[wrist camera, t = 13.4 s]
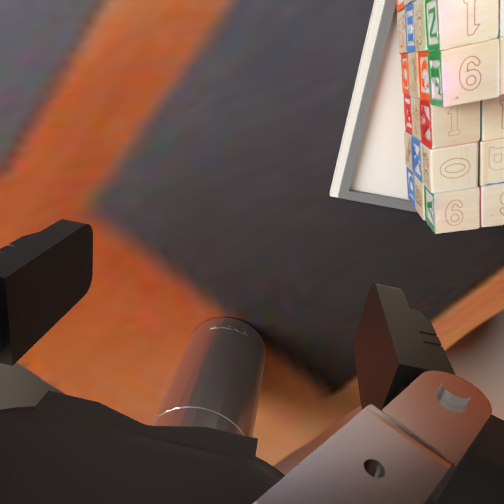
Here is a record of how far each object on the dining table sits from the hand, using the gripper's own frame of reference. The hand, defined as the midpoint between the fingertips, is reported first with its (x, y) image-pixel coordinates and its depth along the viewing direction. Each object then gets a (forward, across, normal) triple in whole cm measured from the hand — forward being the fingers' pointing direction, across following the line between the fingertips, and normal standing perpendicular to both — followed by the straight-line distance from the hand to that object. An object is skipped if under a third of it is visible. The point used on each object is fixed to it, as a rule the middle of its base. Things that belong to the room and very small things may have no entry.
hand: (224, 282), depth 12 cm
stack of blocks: (+29, -11, -8) cm, 32 cm away
